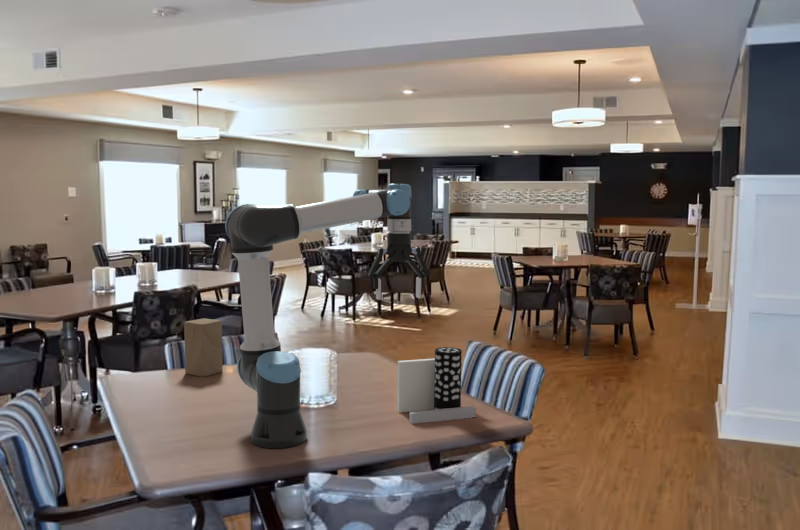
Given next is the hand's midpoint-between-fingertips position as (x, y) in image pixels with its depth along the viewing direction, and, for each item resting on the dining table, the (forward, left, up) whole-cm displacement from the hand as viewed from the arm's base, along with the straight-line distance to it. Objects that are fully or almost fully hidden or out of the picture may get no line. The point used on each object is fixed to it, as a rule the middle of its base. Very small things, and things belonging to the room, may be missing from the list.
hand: (398, 298), depth 220 cm
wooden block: (-58, +59, -35) cm, 90 cm away
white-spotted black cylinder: (+12, -14, -35) cm, 39 cm away
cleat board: (+8, -14, -35) cm, 38 cm away
